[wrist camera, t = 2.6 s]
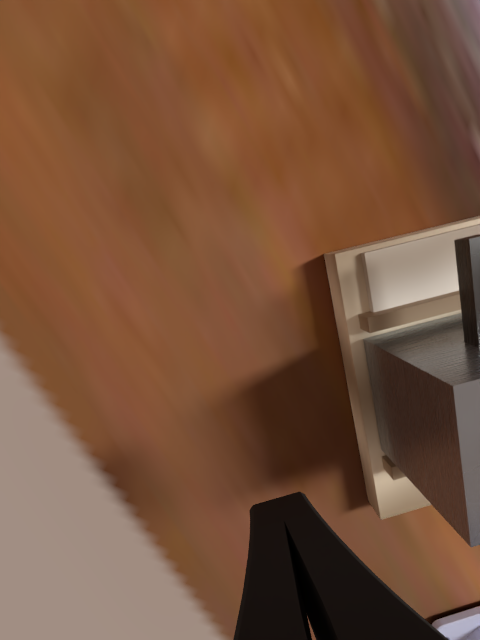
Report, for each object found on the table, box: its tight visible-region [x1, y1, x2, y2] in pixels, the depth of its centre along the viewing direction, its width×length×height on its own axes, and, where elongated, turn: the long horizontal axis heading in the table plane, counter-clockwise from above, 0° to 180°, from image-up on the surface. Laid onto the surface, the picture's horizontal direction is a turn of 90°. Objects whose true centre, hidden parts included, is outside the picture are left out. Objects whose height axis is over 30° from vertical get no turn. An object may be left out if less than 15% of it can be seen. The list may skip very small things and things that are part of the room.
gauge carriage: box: [363, 234, 480, 547], centre depth 11 cm, size 8×5×5 cm, turn 13°
